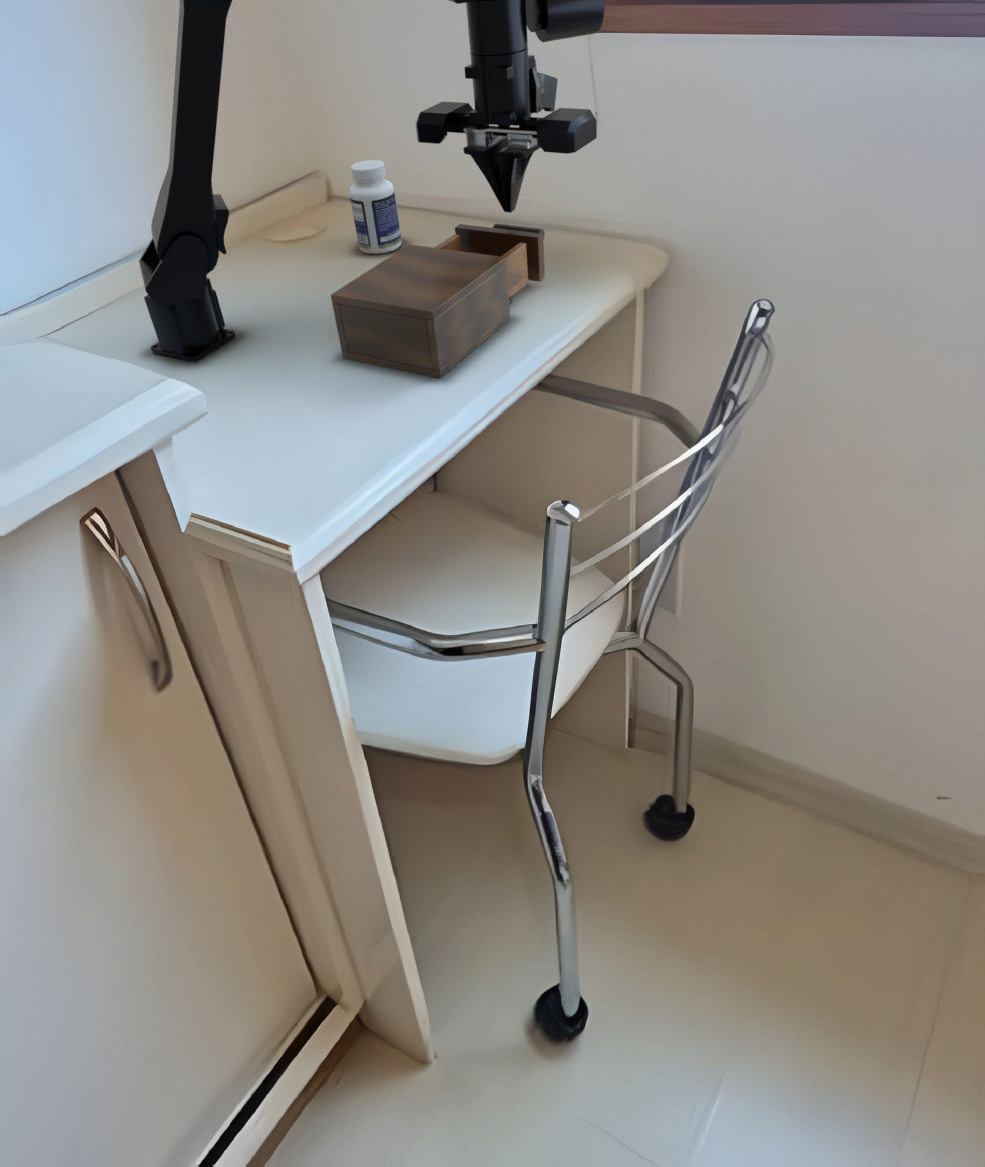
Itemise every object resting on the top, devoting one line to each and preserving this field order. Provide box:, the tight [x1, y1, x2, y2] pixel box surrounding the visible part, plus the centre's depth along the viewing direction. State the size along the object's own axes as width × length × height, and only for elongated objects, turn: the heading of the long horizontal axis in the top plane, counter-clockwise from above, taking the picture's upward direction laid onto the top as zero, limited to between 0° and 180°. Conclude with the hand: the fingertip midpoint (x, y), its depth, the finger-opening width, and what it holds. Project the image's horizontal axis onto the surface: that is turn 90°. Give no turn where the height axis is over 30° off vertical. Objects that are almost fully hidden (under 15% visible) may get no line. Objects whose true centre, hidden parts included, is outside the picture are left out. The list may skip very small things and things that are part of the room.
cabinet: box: [330, 244, 511, 379], centre depth 92 cm, size 14×12×7 cm
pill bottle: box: [349, 159, 403, 255], centre depth 113 cm, size 5×5×10 cm
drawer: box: [433, 223, 546, 300], centre depth 100 cm, size 17×10×5 cm, turn 150°
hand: (509, 211), depth 102 cm, fingers closed
